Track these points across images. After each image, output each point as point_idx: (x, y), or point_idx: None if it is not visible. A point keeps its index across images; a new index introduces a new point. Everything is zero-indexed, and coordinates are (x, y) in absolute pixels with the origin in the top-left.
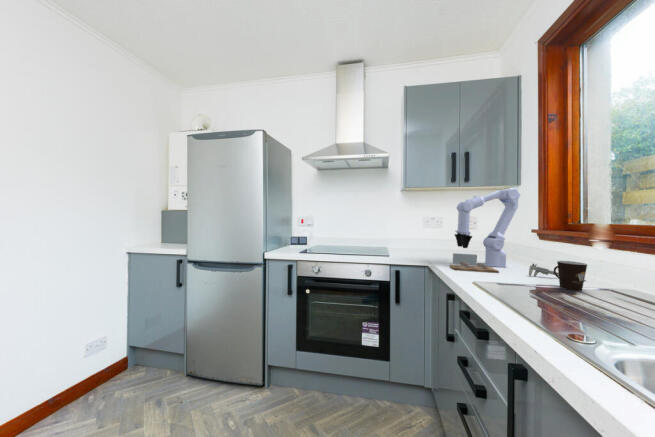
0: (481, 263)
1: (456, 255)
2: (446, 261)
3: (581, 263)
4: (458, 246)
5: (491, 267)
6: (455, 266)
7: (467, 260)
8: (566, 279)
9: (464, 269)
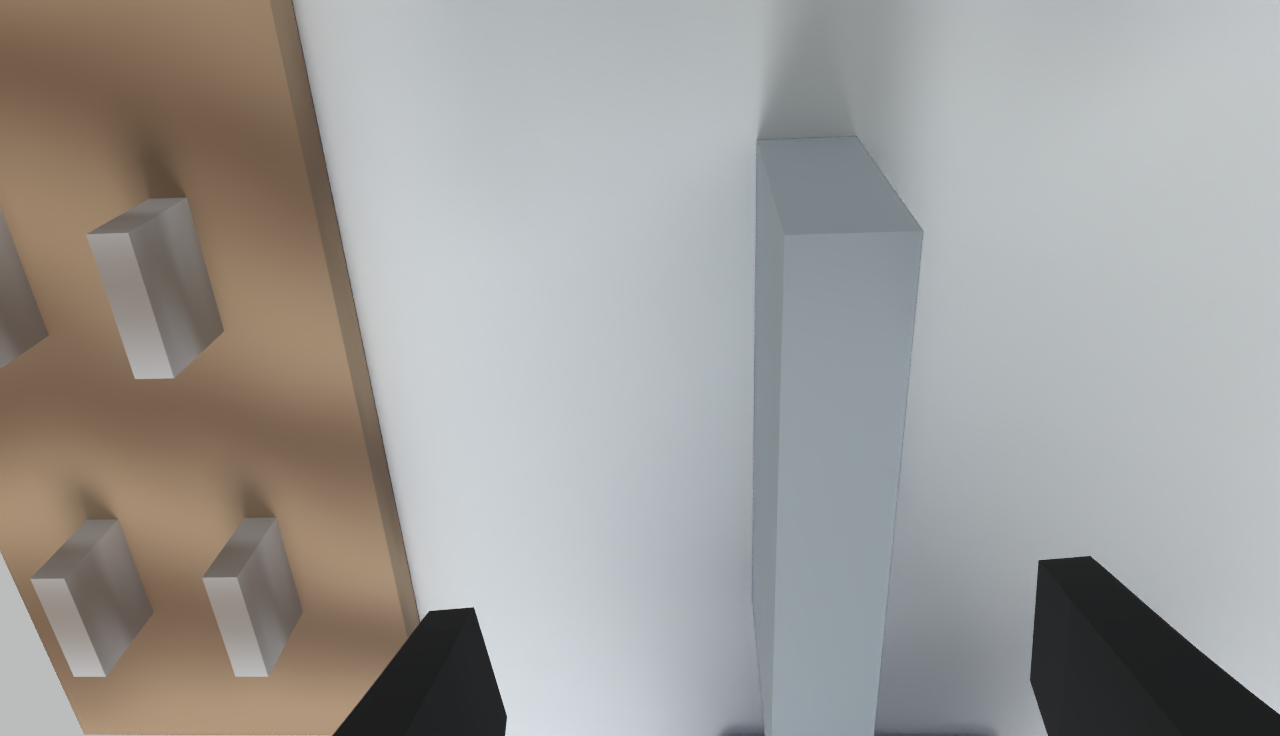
0: (224, 637)
1: (775, 297)
2: (1191, 13)
3: None
4: (1038, 569)
5: None
6: (15, 54)
7: (760, 502)
8: None
9: None
